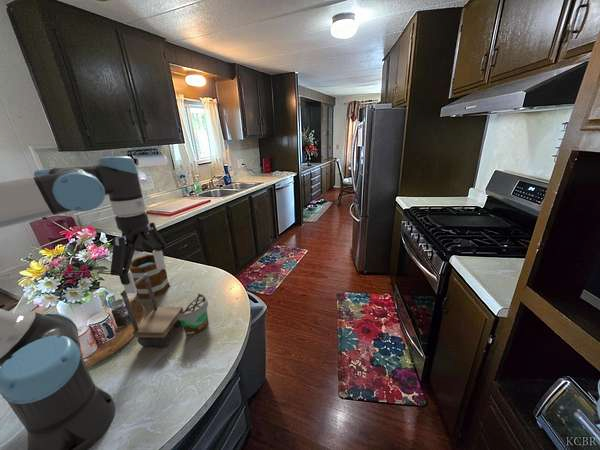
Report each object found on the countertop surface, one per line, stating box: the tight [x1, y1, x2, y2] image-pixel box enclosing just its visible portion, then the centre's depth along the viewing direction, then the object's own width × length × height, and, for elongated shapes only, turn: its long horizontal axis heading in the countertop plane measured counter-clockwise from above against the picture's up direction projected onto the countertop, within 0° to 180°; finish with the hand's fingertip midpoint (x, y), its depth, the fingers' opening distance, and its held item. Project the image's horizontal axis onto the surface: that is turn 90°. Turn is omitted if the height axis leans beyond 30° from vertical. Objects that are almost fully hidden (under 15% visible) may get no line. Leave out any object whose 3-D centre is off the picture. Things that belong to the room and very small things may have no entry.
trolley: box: [119, 273, 184, 349], centre depth 81 cm, size 12×10×22 cm
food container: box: [178, 293, 209, 337], centre depth 86 cm, size 12×6×10 cm, turn 169°
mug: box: [129, 252, 171, 300], centre depth 110 cm, size 20×14×15 cm
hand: (147, 279), depth 75 cm, fingers open, 13 cm apart
